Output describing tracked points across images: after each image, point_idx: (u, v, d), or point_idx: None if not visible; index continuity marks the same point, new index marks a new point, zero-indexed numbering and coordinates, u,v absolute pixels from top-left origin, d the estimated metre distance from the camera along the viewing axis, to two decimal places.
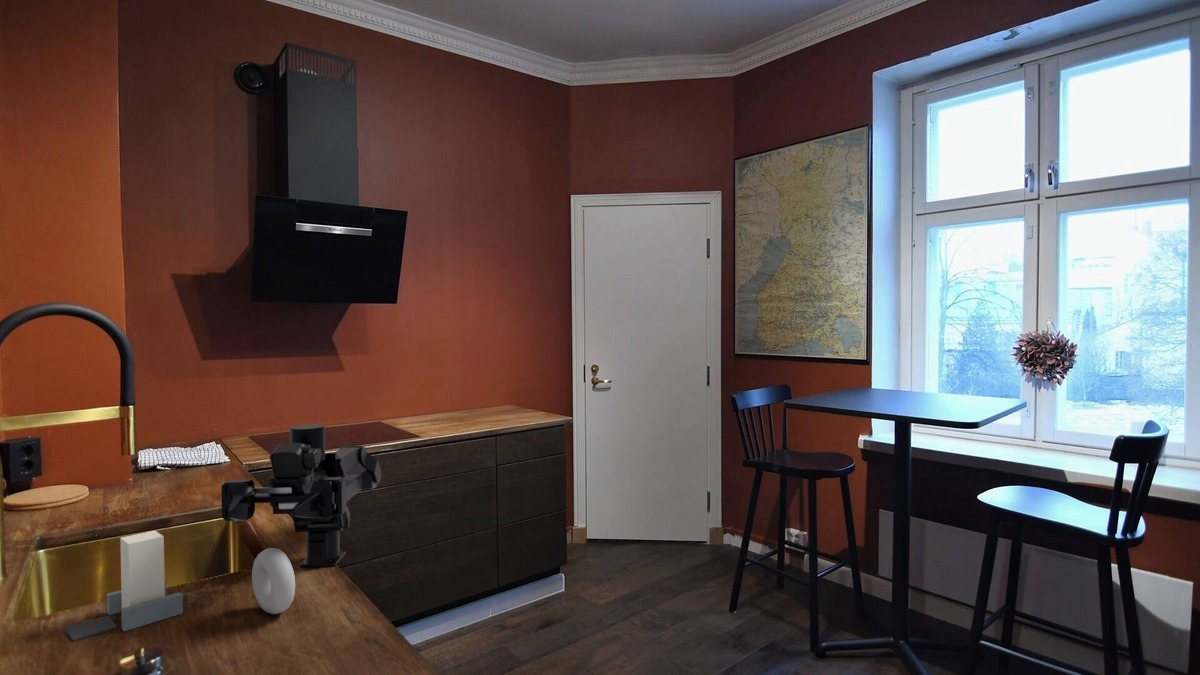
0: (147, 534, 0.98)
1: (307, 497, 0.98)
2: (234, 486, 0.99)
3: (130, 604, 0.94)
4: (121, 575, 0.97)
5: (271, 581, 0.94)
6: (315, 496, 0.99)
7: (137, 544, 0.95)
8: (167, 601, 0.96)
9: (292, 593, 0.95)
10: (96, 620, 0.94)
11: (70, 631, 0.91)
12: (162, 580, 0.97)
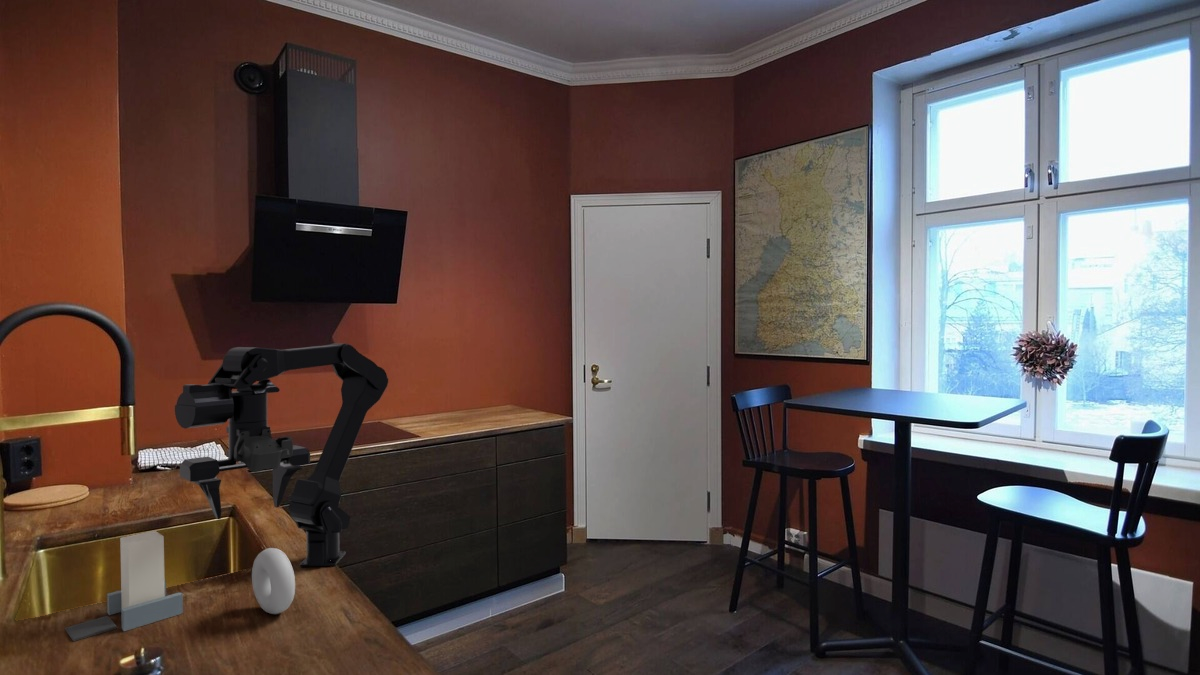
0: (147, 534, 0.98)
1: (283, 485, 1.09)
2: (207, 484, 0.99)
3: (130, 604, 0.94)
4: (121, 575, 0.97)
5: (271, 581, 0.94)
6: (288, 480, 1.10)
7: (137, 544, 0.95)
8: (167, 601, 0.96)
9: (292, 593, 0.95)
10: (96, 620, 0.94)
11: (70, 631, 0.91)
12: (162, 580, 0.97)
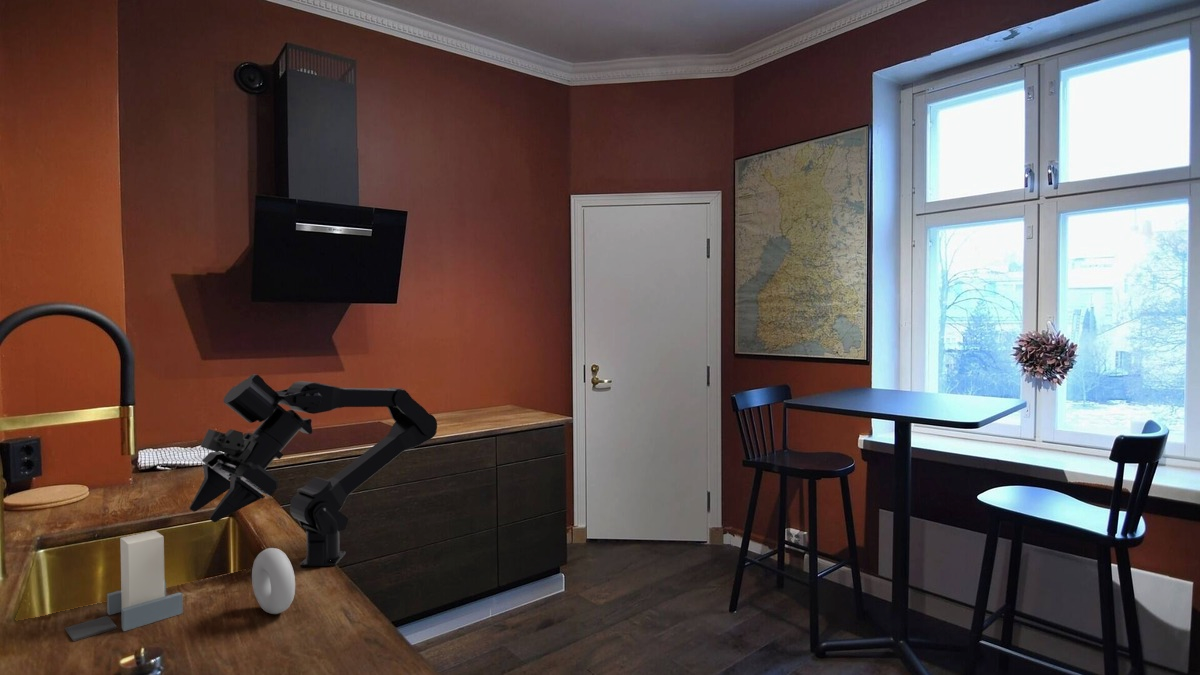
0: (147, 534, 0.98)
1: (225, 496, 1.01)
2: (203, 467, 1.10)
3: (130, 604, 0.94)
4: (121, 575, 0.97)
5: (271, 581, 0.94)
6: (231, 494, 1.01)
7: (137, 544, 0.95)
8: (167, 601, 0.96)
9: (292, 593, 0.95)
10: (96, 620, 0.94)
11: (70, 631, 0.91)
12: (162, 580, 0.97)
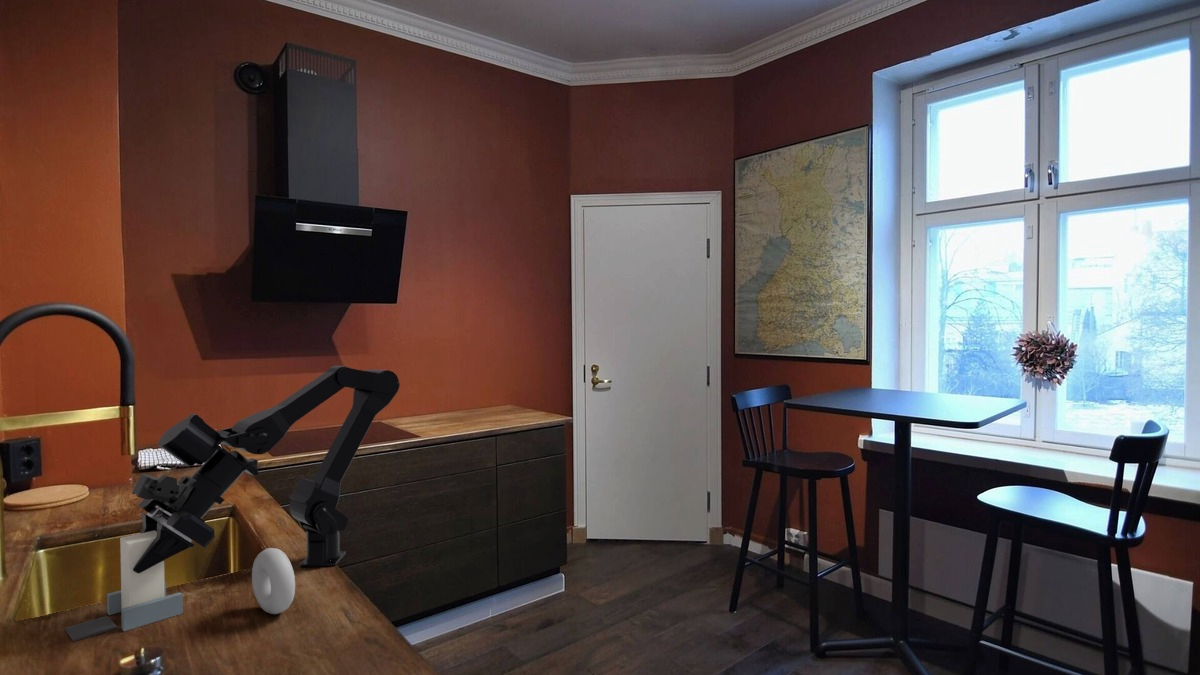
0: (147, 534, 0.98)
1: (150, 546, 0.95)
2: (142, 515, 1.01)
3: (130, 604, 0.94)
4: (121, 575, 0.97)
5: (271, 581, 0.94)
6: (157, 543, 0.95)
7: (137, 544, 0.95)
8: (167, 601, 0.96)
9: (292, 593, 0.95)
10: (96, 620, 0.94)
11: (70, 631, 0.91)
12: (162, 580, 0.97)
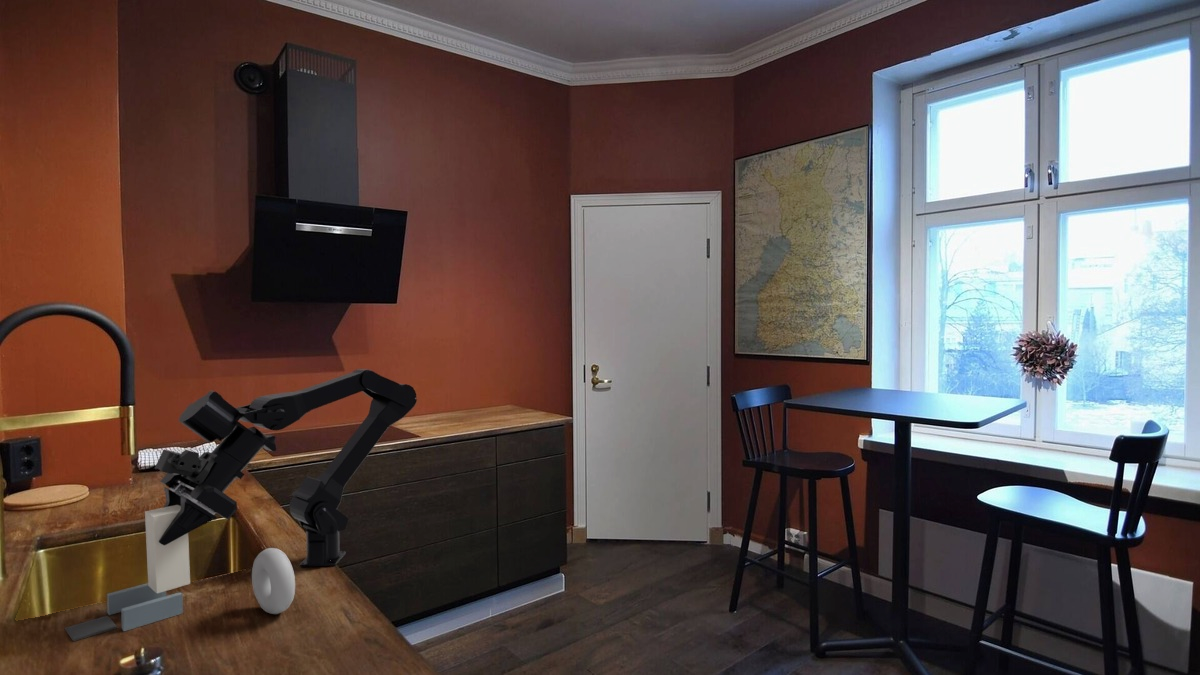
0: (170, 508, 1.01)
1: (175, 518, 0.98)
2: (165, 490, 1.03)
3: (157, 575, 0.97)
4: (147, 547, 0.99)
5: (271, 581, 0.94)
6: (181, 515, 0.98)
7: (162, 517, 0.97)
8: (167, 601, 0.96)
9: (292, 593, 0.95)
10: (96, 620, 0.94)
11: (70, 631, 0.91)
12: (187, 552, 1.00)
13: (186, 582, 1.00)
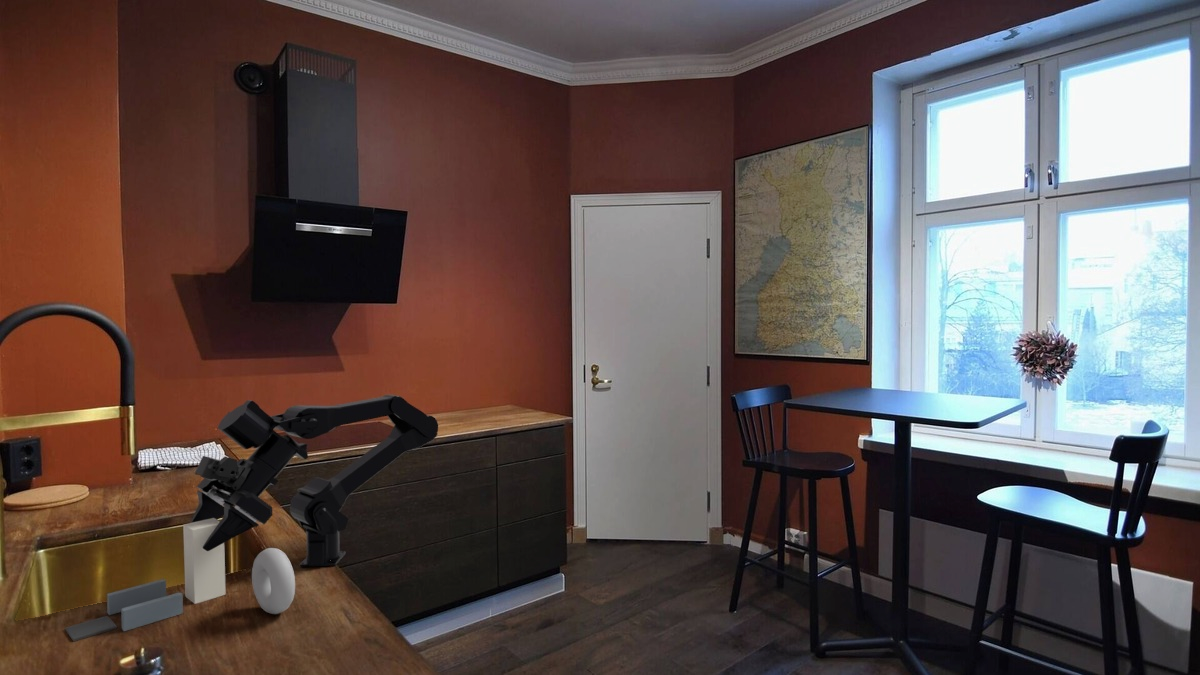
0: (207, 521, 1.05)
1: (218, 525, 1.00)
2: (198, 493, 1.09)
3: (195, 586, 1.01)
4: (184, 559, 1.03)
5: (271, 581, 0.94)
6: (225, 522, 1.00)
7: (200, 530, 1.01)
8: (167, 601, 0.96)
9: (292, 593, 0.95)
10: (96, 620, 0.94)
11: (70, 631, 0.91)
12: (222, 564, 1.04)
13: (222, 593, 1.04)
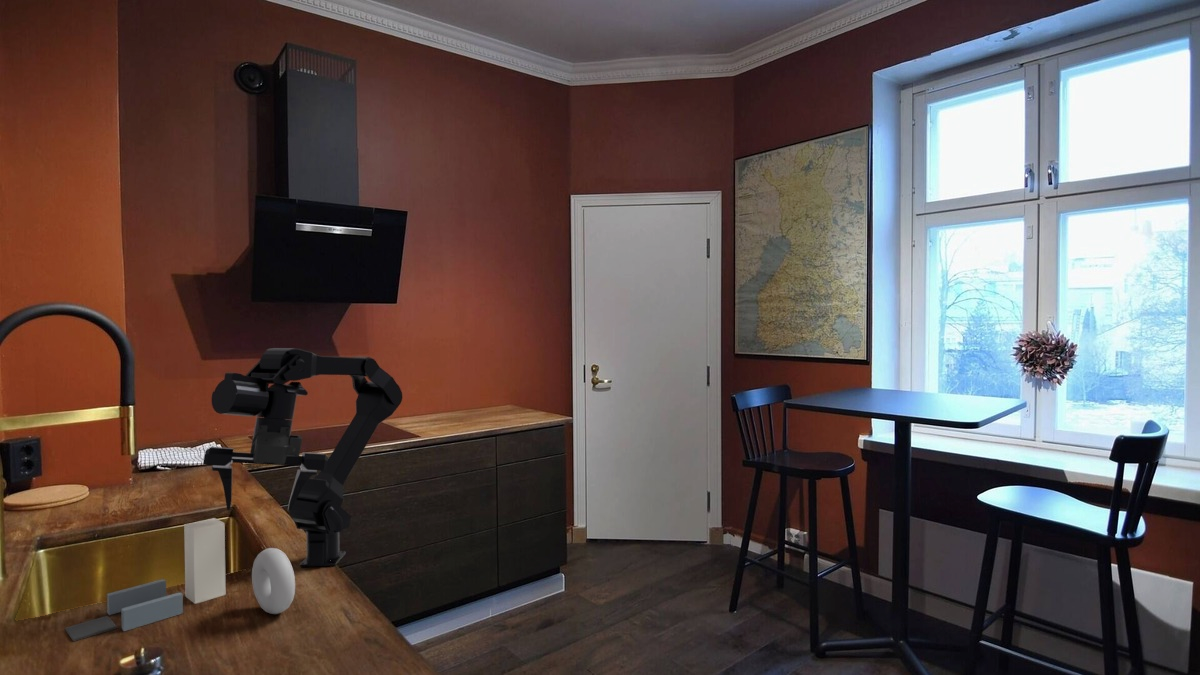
0: (208, 521, 1.05)
1: (297, 489, 1.09)
2: (218, 470, 1.02)
3: (195, 586, 1.01)
4: (185, 559, 1.03)
5: (271, 581, 0.94)
6: (303, 485, 1.09)
7: (201, 530, 1.01)
8: (167, 601, 0.96)
9: (292, 593, 0.95)
10: (96, 620, 0.94)
11: (70, 631, 0.91)
12: (223, 564, 1.04)
13: (222, 593, 1.04)
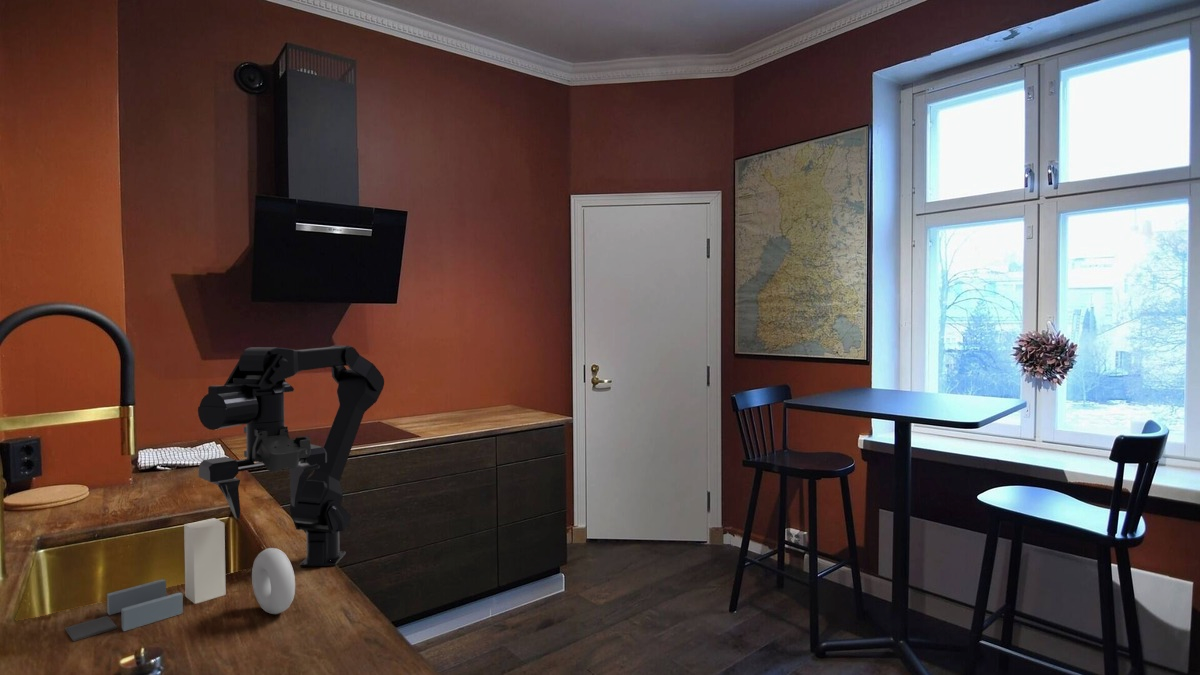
0: (208, 521, 1.05)
1: (301, 484, 1.10)
2: (227, 484, 0.99)
3: (195, 586, 1.01)
4: (185, 559, 1.03)
5: (271, 581, 0.94)
6: (306, 479, 1.10)
7: (201, 530, 1.01)
8: (167, 601, 0.96)
9: (292, 593, 0.95)
10: (96, 620, 0.94)
11: (70, 631, 0.91)
12: (223, 564, 1.04)
13: (222, 593, 1.04)
